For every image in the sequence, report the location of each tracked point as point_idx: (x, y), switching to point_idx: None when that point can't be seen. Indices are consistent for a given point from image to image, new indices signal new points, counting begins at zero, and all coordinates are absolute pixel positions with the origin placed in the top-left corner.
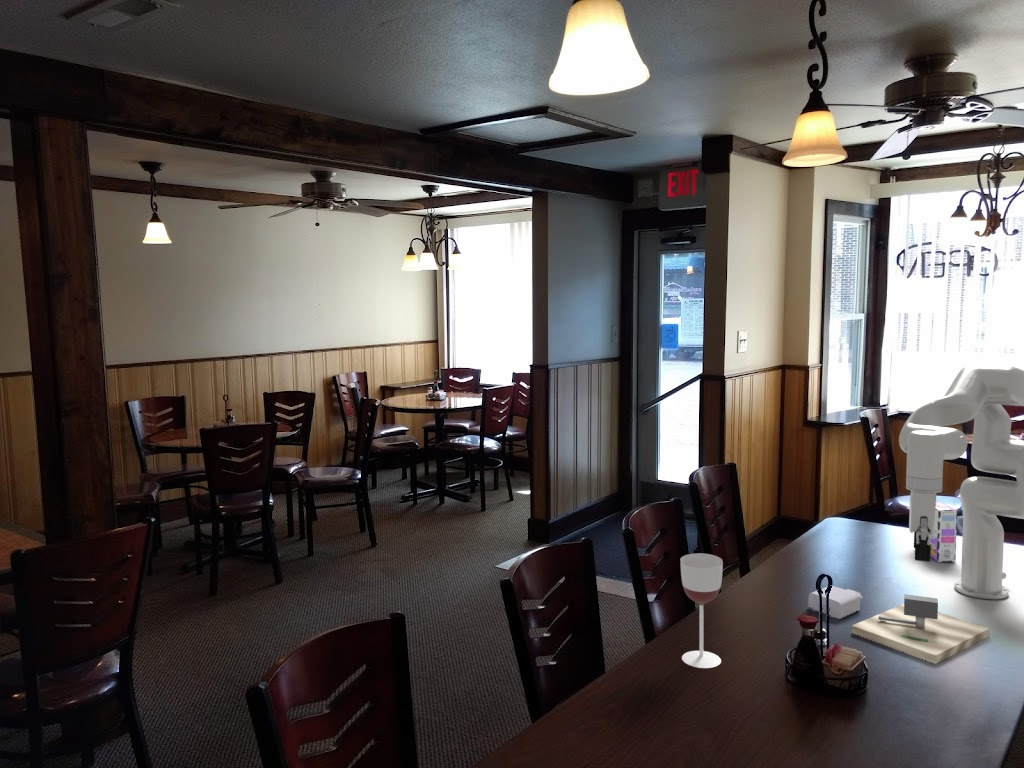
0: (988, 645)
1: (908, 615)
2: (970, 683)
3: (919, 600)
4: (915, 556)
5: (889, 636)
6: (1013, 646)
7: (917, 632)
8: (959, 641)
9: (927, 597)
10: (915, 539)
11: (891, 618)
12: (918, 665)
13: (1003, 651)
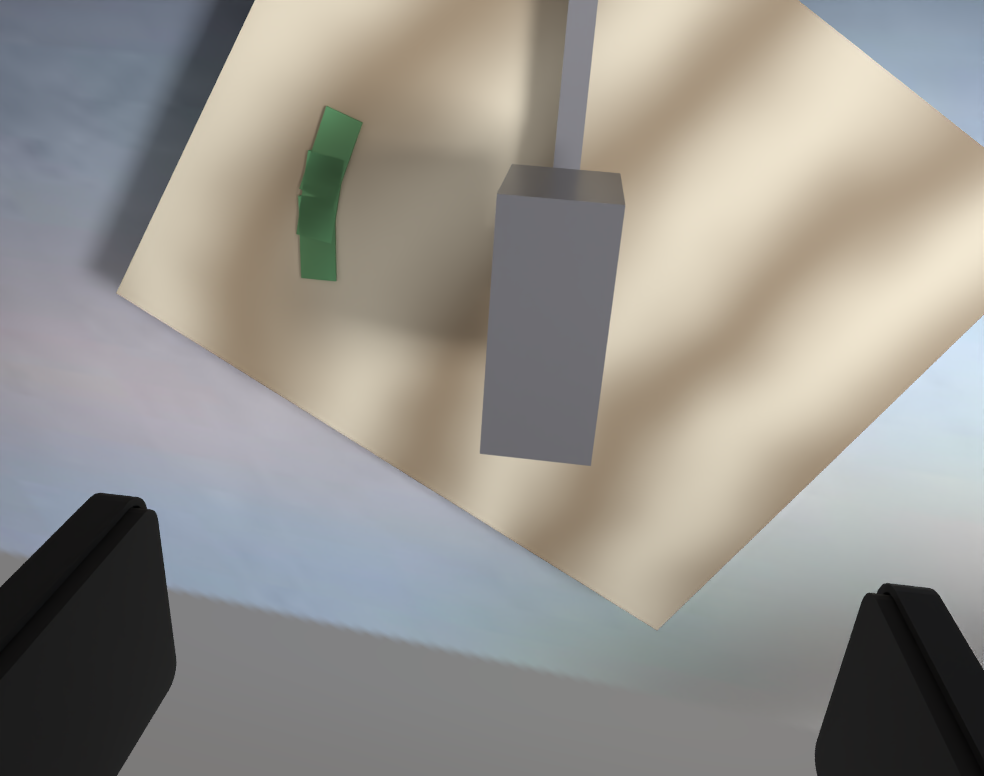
0: (524, 569)
1: (771, 205)
2: (7, 403)
3: (489, 320)
4: (72, 532)
5: (289, 24)
6: (551, 665)
7: (444, 231)
8: (392, 450)
9: (592, 395)
10: (929, 736)
11: (573, 61)
12: (81, 181)
13: (469, 613)
